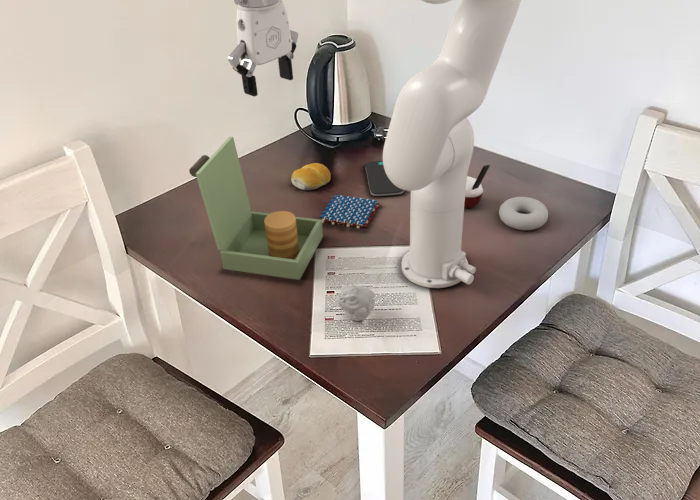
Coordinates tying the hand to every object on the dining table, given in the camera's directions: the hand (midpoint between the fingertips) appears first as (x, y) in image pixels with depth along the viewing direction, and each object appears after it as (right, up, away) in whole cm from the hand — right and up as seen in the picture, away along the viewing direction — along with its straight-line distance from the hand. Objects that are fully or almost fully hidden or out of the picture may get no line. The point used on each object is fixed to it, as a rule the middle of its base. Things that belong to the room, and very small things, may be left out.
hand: (269, 86), depth 130 cm
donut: (+52, -26, +8) cm, 59 cm away
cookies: (+3, -33, 0) cm, 33 cm away
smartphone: (+24, -16, +23) cm, 37 cm away
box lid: (-7, -21, -5) cm, 23 cm away
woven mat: (+16, -25, +12) cm, 32 cm away
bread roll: (+7, -17, +24) cm, 30 cm away
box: (+1, -33, +1) cm, 33 cm away
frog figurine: (+17, -44, -14) cm, 50 cm away
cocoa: (+41, -23, +13) cm, 49 cm away
